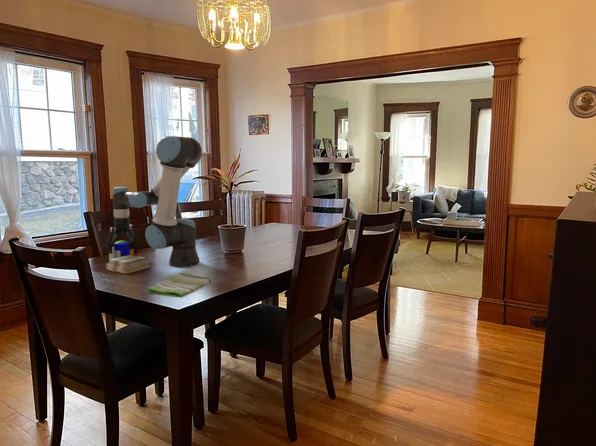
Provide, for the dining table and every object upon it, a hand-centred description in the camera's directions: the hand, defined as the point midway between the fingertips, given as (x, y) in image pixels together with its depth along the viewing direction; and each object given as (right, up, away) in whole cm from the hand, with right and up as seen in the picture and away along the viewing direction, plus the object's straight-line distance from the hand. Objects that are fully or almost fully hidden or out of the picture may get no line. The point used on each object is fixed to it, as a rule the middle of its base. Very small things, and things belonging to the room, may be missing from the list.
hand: (123, 257), depth 230 cm
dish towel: (+42, -10, -45) cm, 63 cm away
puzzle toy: (0, -2, 0) cm, 2 cm away
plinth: (+9, -4, -16) cm, 18 cm away
